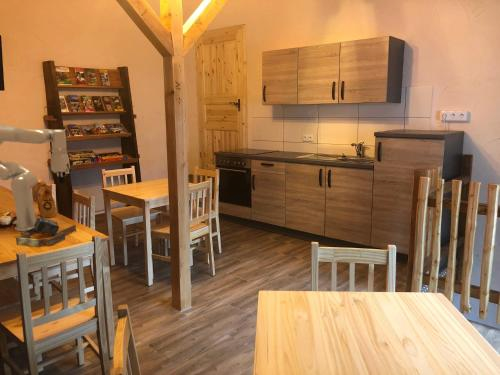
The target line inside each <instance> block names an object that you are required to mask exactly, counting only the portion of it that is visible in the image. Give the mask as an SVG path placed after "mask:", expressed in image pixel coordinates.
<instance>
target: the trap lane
mask: <svg viewBox="0 0 500 375" xmlns="http://www.w3.org/2000/svg"><path fill="white" fill-rule="evenodd" d="M74 231H75V232H76V231H77V226H76V224H74V225H73V224H72V225H71V226H68V227H66V228H63V229H61V230H58V231H57V232H56V235H55V236H52V237H50V238H45V237H43V238H40V239H37V238H32V237H31V236H35V235H36V234H37V235H38V234H39V235H40V234H41V235H45V234H46V233H44V232H40V231H37V230H36V229H35V227H34V228H32V229H29V230H26V231H20V236H19V235H18V236H17V237H15V242H16V245H19V246H21V245H22V246H29V247H37V248H41V247H44V246H45V247H46V246H48V247H51V246H53V245H56V244H58V243H60V242H62V241H65V240H66V236H68V235H71V234H73V233H75V232H74ZM72 232H73V233H72ZM70 233H71V234H70Z"/></svg>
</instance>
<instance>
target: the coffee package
mask: <svg viewBox="0 0 500 375" xmlns="http://www.w3.org/2000/svg"><path fill="white" fill-rule="evenodd" d="M39 184H40V187H39V189H38V191H37V207H38V213H39V215H40V216H41V218H44V219H47V218H48V219H49V218H55V216H57V208H56V203H55V202H56V201H55V199H54V197H53V194H52V192H51V190H50V188H49V187H48V186H47V182H45V181H43V180H41V181H40V182H39Z"/></svg>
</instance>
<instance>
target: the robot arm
mask: <svg viewBox="0 0 500 375" xmlns="http://www.w3.org/2000/svg"><path fill="white" fill-rule="evenodd" d="M66 136H67V135H66V131H65V130H64V129H61V128H60V129H49V128H43V129H24V128H21V127H20V126H8V125H7V126H6V125H5V124H0V146H1V145H2V144H3V143H4V142H8V143H9V142H10V143H11V142H12V143H13V142H14V143H21V144H22V143H23V144H32V145H33V144H36V145H40V144H46V143H50V142H51V152H52V153H51V155H50V170H51V171H52V172H53V173H54V174H56V176H57V177H58V184H60V185H62V184H66V176H67V175H68V174H70V170H71V164H70V158H69V154H68V150H67V139H66V138H67V137H66ZM10 179H11V182H10V188H11V191H12V192H11V193H12V195H13V200H14V206H15V207H14V208H15V214H16V219H15V220H14V221H13V222H12V224H13V225H15V227H14V230H15V231H17V232H24V231H26V230H29V229H32V228H34V227H35V226H34V224H35V222H36V220H37V218H36V212H35V205H34V197H33V191H31V189H32V188H34V187H35V186H36V184H37V183H38V179H37V176H36V175H35V174H34V173H33V172H32V171H30V170H28V168H26V167H23V166H22V165H21V164H19V163H18V162H15V161H6V162H4V161H2V160H0V180H1V181H8V180H10Z"/></svg>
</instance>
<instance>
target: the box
mask: <svg viewBox="0 0 500 375" xmlns="http://www.w3.org/2000/svg"><path fill="white" fill-rule="evenodd" d="M34 226H35V229H36V230H37V231H40V232H44V233H45V234H47V235H51V236H53V237H55V236H56V232H59V229H60V226H59V224H58V222H57V221H54V220H51V219H49V218H48V219H47V218H43V217H42V216H41V217H40V216H37V218H36V222H35V224H34Z"/></svg>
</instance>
